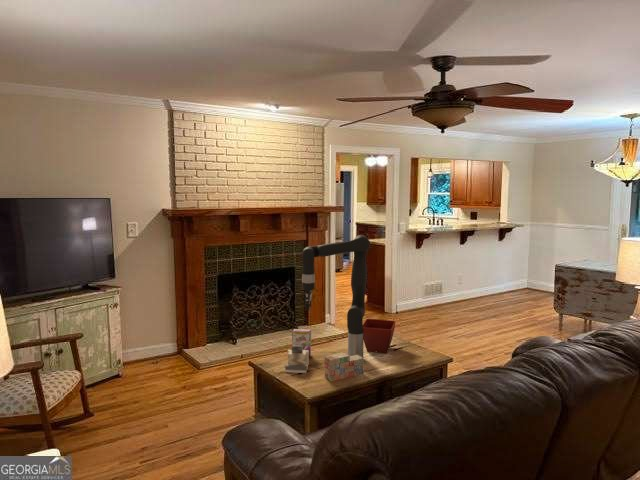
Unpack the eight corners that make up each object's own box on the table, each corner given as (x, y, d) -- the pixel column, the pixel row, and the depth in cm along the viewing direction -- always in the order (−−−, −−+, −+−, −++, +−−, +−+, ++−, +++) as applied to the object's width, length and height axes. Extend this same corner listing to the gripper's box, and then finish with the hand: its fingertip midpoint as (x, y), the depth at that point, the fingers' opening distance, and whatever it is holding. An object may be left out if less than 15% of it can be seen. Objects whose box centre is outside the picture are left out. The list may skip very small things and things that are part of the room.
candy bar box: (292, 357, 282) (291, 331, 280) (293, 354, 287) (293, 328, 285) (310, 358, 281) (310, 331, 279) (311, 355, 286) (311, 329, 284)
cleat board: (308, 364, 270) (308, 349, 269) (306, 372, 259) (306, 357, 258) (288, 363, 272) (288, 349, 271) (284, 372, 260) (284, 356, 259)
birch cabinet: (306, 364, 268) (306, 344, 266) (305, 368, 263) (305, 347, 261) (289, 364, 268) (289, 344, 267) (287, 367, 264) (287, 347, 262)
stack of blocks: (357, 370, 263) (357, 349, 262) (363, 374, 258) (363, 352, 256) (324, 377, 253) (324, 355, 252) (329, 381, 248) (330, 359, 246)
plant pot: (360, 352, 290) (360, 326, 288) (366, 342, 308) (366, 318, 306) (390, 356, 284) (391, 329, 282) (395, 345, 302) (395, 320, 300)
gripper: (313, 284, 263) (313, 311, 265) (316, 279, 277) (316, 305, 279) (300, 283, 264) (300, 311, 266) (303, 278, 278) (303, 305, 280)
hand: (308, 308), depth 273 cm, fingers open, 8 cm apart
